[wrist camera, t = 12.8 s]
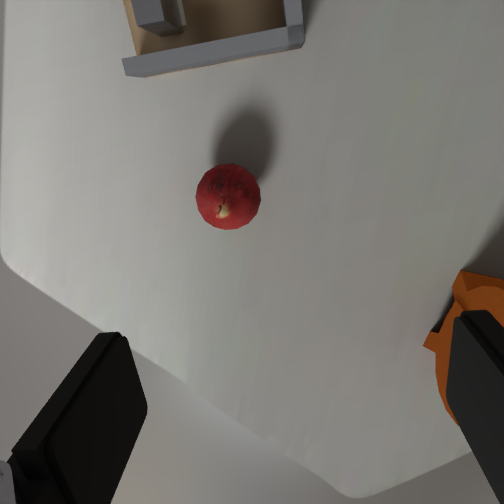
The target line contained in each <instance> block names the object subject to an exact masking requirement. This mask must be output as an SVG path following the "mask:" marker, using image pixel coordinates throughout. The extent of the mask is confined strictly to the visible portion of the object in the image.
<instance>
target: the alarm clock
mask: <svg viewBox="0 0 504 504" xmlns="http://www.w3.org/2000/svg"><path fill="white" fill-rule="evenodd" d="M452 290H453V294H454V299H455V302H454V304H453V306H452V308H451V309H450V311H449V312H448V314H447V315H446V317H445V320H444V322H443V325H442V328H441V330H440V331H439V333H435V332H429V334H428V337H427V339H426V341H425V343H424V345H423V346H424V347H426V348H428V349H430V350H432V351H433V352H435V353H436V377H437V383H438V389H439V393H440V396H441V398H442V401H443V403H444V406H445V408H446V410H447V412H448V413H449V414H450V416H451V417H452V418H453V420H454V421H455V423H456V424H457V425H458V423H457V421H456V419H455V417H454V415H453V413H452V411H451V409H450V408H449V405H448V403H447V399H446V385H447V376H448V367H449V358H450V349H451V340H452V331H453V322H454V318H455V317H459V316H460V314H461V312H462V311H469V310H487V311H489V312H490V313H491V314H492V315H493V316H494V318H495V319H496V320H497V321H498V322H499V323H500V324H501V325H502V326H503V327H504V280H503V279H498V278H494V277H489V276H484V275H480V274H475V273H471V272H466V271H462V270H460V272H459V274H458V276H457V278H456V280H455V282H454V284H453V286H452ZM458 426H459V425H458Z"/></svg>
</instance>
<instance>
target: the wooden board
mask: <svg viewBox="0 0 504 504" xmlns="http://www.w3.org/2000/svg"><path fill="white" fill-rule="evenodd" d="M123 2H124V6H125V10H126V14H127V18H128V22H129V26H130V30H131V34H132V38H133V42H134V46H135V50H136V54H137V56H139V55H144V54H149V53H154V52H159V51H164V50H169V49H174V48H180V47H185V46H190V45H195V44H200V43H205V42H210V41H215V40H220V39H225V38H231V37H236V36H241V35H246V34H251V33H256V32H261V31H266V30H271V29H276V28H282V27H284V18H283V9H282V0H177V2H178V7H179V12H180V17H181V22H182V27H183V32H184V33H178V34H173V35H168V36H163V37H160V36H158V35H155V34H153V33H151V32H149V31H147V30H145V29H143V28H140V27H138V26H137V24H136V20H135V16H134V12H133V8H132V3H131V0H123ZM295 49H299V48H295ZM290 50H293V49H290ZM285 51H288V50H285ZM279 52H283V51H279ZM274 53H277V52H274ZM269 54H272V53H269ZM263 55H267V54H263ZM258 56H262V55H258ZM253 57H256V56H253ZM248 58H251V57H248ZM242 59H246V58H242ZM237 60H240V59H237ZM232 61H235V60H232ZM226 62H230V61H226ZM221 63H224V62H221ZM216 64H219V63H216ZM211 65H214V64H211ZM205 66H209V65H205ZM200 67H203V66H200ZM195 68H198V67H195ZM189 69H193V68H189ZM184 70H187V69H184ZM179 71H182V70H179ZM174 72H177V71H174ZM168 73H172V72H168ZM163 74H166V73H163ZM158 75H161V74H158ZM152 76H156V75H152ZM147 77H150V76H147ZM144 78H145V77H144Z"/></svg>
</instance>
